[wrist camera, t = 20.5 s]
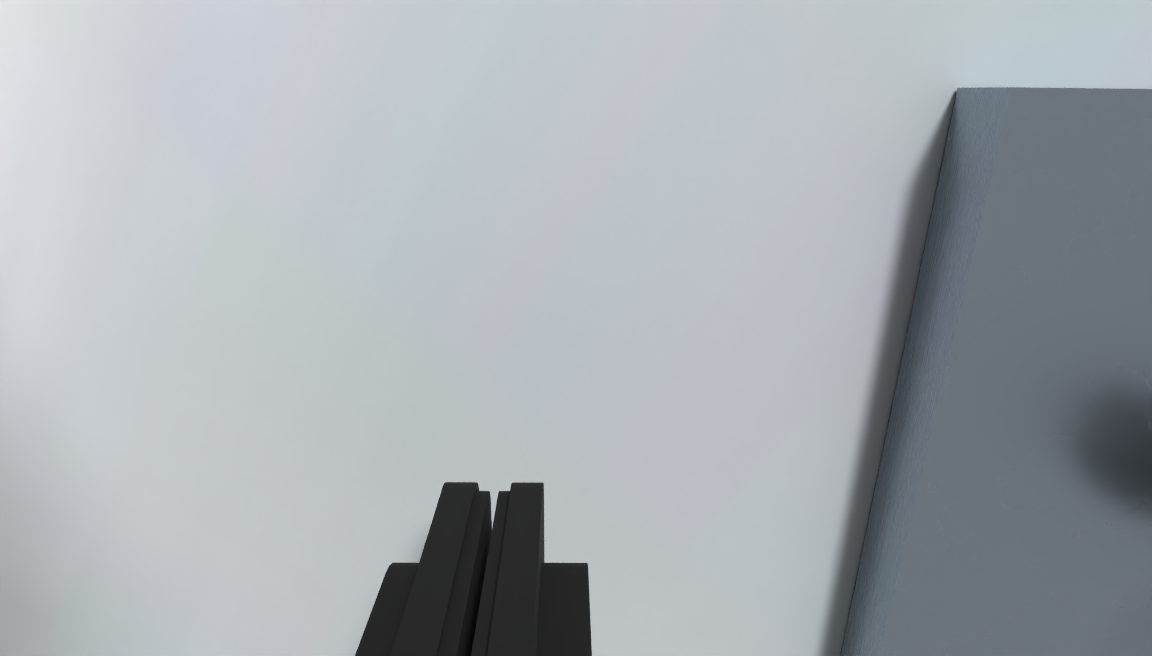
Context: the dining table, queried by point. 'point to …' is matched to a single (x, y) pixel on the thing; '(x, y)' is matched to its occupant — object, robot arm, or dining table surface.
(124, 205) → the dining table surface
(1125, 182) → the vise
